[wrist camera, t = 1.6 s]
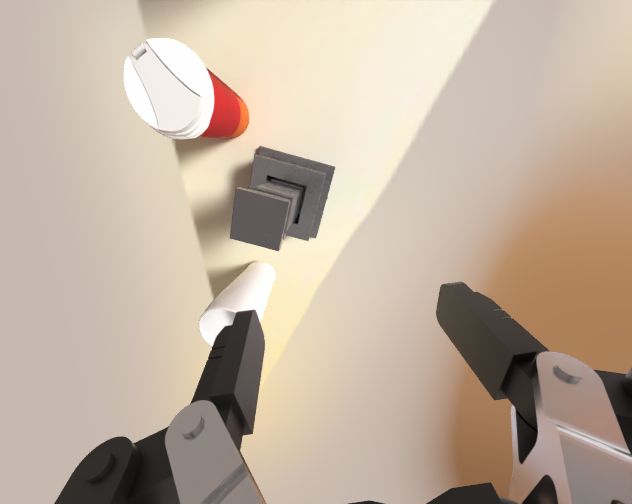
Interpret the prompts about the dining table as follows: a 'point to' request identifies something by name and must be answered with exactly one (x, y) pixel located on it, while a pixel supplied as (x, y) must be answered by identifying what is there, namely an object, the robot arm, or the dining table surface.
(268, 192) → the column
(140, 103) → the paper cup
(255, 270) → the drinking glass
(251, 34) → the dining table surface
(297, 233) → the sleeve
